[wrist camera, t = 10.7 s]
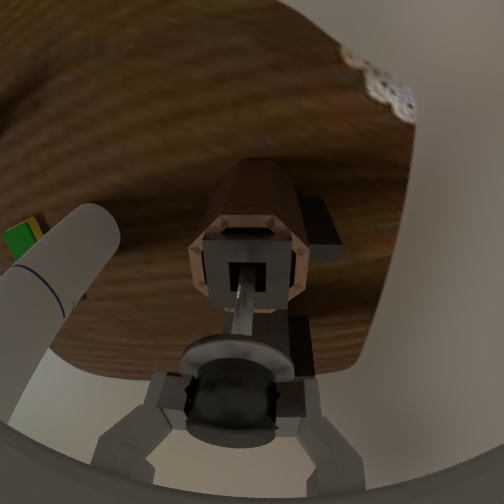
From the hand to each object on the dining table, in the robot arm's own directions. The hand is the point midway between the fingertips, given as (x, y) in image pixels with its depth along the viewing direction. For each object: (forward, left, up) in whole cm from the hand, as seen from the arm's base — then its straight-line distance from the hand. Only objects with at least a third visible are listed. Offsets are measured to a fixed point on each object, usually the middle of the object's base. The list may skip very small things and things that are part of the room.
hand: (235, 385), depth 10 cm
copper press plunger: (0, 0, -10) cm, 10 cm away
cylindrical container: (+4, -19, -20) cm, 28 cm away
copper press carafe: (0, +1, -20) cm, 20 cm away
